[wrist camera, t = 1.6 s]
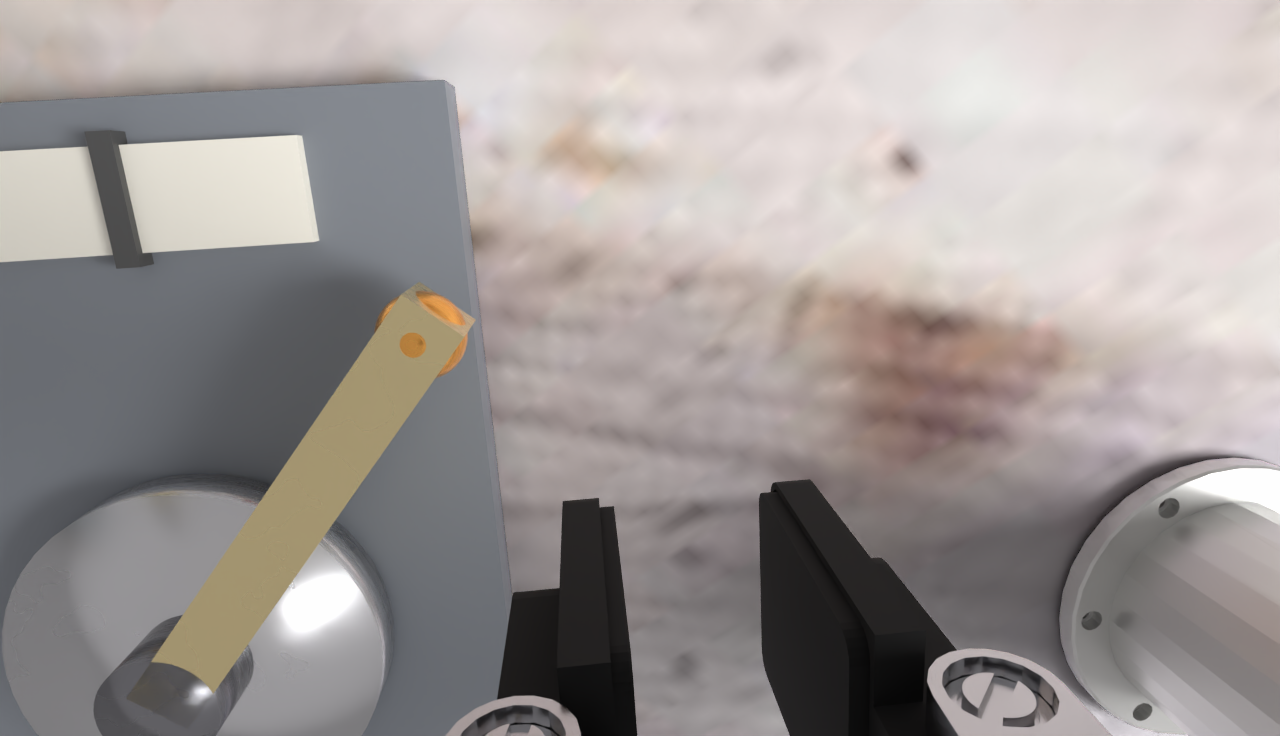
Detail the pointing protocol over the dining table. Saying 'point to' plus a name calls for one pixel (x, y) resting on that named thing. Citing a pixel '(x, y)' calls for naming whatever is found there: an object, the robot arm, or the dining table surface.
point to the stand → (250, 338)
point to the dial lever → (231, 578)
